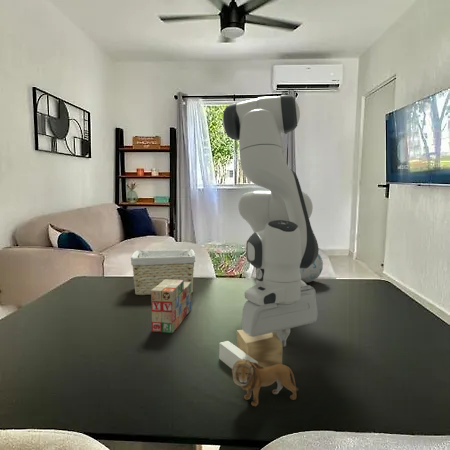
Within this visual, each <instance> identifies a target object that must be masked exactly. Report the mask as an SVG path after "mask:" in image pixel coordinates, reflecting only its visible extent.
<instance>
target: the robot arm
mask: <svg viewBox="0 0 450 450" xmlns="http://www.w3.org/2000/svg"><path fill="white" fill-rule="evenodd" d="M300 115H301V111H300V106H299V105H298V103H297V101H296V98H295V97H294V96H292V95H290V94H281V95H278V96H277V95H273V96H259V97H257V98H254V99H249V100H245V101H244V100H243V101H241V102H238V103H237V102H234V103H231V104H228V105H227V106H226V107H225V108H224V110H223V114H222V126H223V129H224V132H225V133H226V134H225V135H226V136H227V137H228V138H230V139H231V140H235V141H239V145H238V146H239V149H238V150H239V160H240V161H239V163H240V167H241V171H242V174H244V176H245V177H246V179H248V180H249V181H250V182H251V183H253V184H254V185H256V186H259V187H261V188H264V189H266V190H253V191H248V192H247V191H246V192H245V193H243V194H242V195H241V196H240V198H239V201H238V212H239V215H240V216H241V218H242V219H243V220H244V221H246V223H248V225H249V226H250V227H251V229H252V231H253V233H252V234H251V235H250V236H249V238H247V240H246V244H245V245H246V246H245V247H246V249H245V250H246V251H245V253H246V256H245V257H246V260H247V261H248V263H249V264H250V265H251V266H252V267H254V268H255V279H256V281H255V285H254V286H252V287H250V288H248V289H246V290H245V291H244V298H245V300H247V301H245V303H244V304H243V306H242V307H243V308H242V314H241V315H242V316H241V330H243V331H244V332H245V333H246V334H248V335H249V336H251V337H255V336H259V335H263V334H268V333H273V335H275V336H276V337H277V338H278V339H279V340H280V341H281V343H282V348H283V347H286V346H287V339H288V337H289V336H290V333H291V329H293V328H296V327H301V326H302V327H303V326H306V325H310V324H313V323H315V322H316V321H317V320H318V306H317V305H318V303H317V299H316V289H315V288H314V287H313V286H311V285H308V284H307V283H305V282H303V281H302V280H301V274H300V268H303V269H306V268H308V267H309V266H310V265H311V264H312V263H313V262H314V261H315V260H316V258H317V256H318V254H319V243H318V240H317V238H316V236H315V233H314V230H313V228H312V226H311V222H310V218H311V215H312V213H313V202H312V199H311V198H310V196H309V195H308V194H307V193H305V192H304V191H302V187H301V183H300V182H299V178H298V176H297V173H296V172H295V171H294V170H292V169H290V167H289V165H288V163H287V158H286V149H285V141H284V136H283V133H284V134H285V135H287V134H288V133H291V132H292V131H294V130H296V128H297V127H298V123H299V121H300Z"/></svg>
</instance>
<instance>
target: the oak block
mask: <svg viewBox="0 0 450 450" xmlns="http://www.w3.org/2000/svg"><path fill="white" fill-rule="evenodd" d="M236 347H238V348H239V349H240V350H242V351H243V352H245V353H246V354H247V355H249V356H250V357H252V358H253V359H254V360H256V361H257V362H258V365H259V366H261V367H269V366H273V365H276V364H282V365H283V347H282V343H281V341H280V340H279V339H278V338H277V337H276V336H275V335H273V333H268V334H263V335H259V336H255V337H251V336H249V335H248V334H246V333H245V332H244V331H243V329H237V330H236Z"/></svg>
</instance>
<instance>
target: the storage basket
mask: <svg viewBox="0 0 450 450" xmlns="http://www.w3.org/2000/svg"><path fill="white" fill-rule="evenodd" d="M195 262H196V253H195V251H194V249H192V248H191V249H190V248H189V249H137V250H135V251H134V252H133V254H132V255H131V256H130V264H131V266H132V271H133V272H132V273H133V276H132V278H133V284H134V291H135V292H134V294H135V295H136V296H138V295H139V296H145V295H150V296H151V290H152V289H153V288H155V287H156V286H157V285H159V284H160V283H161V282H162V281H163V280H165V279H168V280H184V282H191V294H193V293H194V290H193V289H194V273H195V272H194V271H195Z"/></svg>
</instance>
